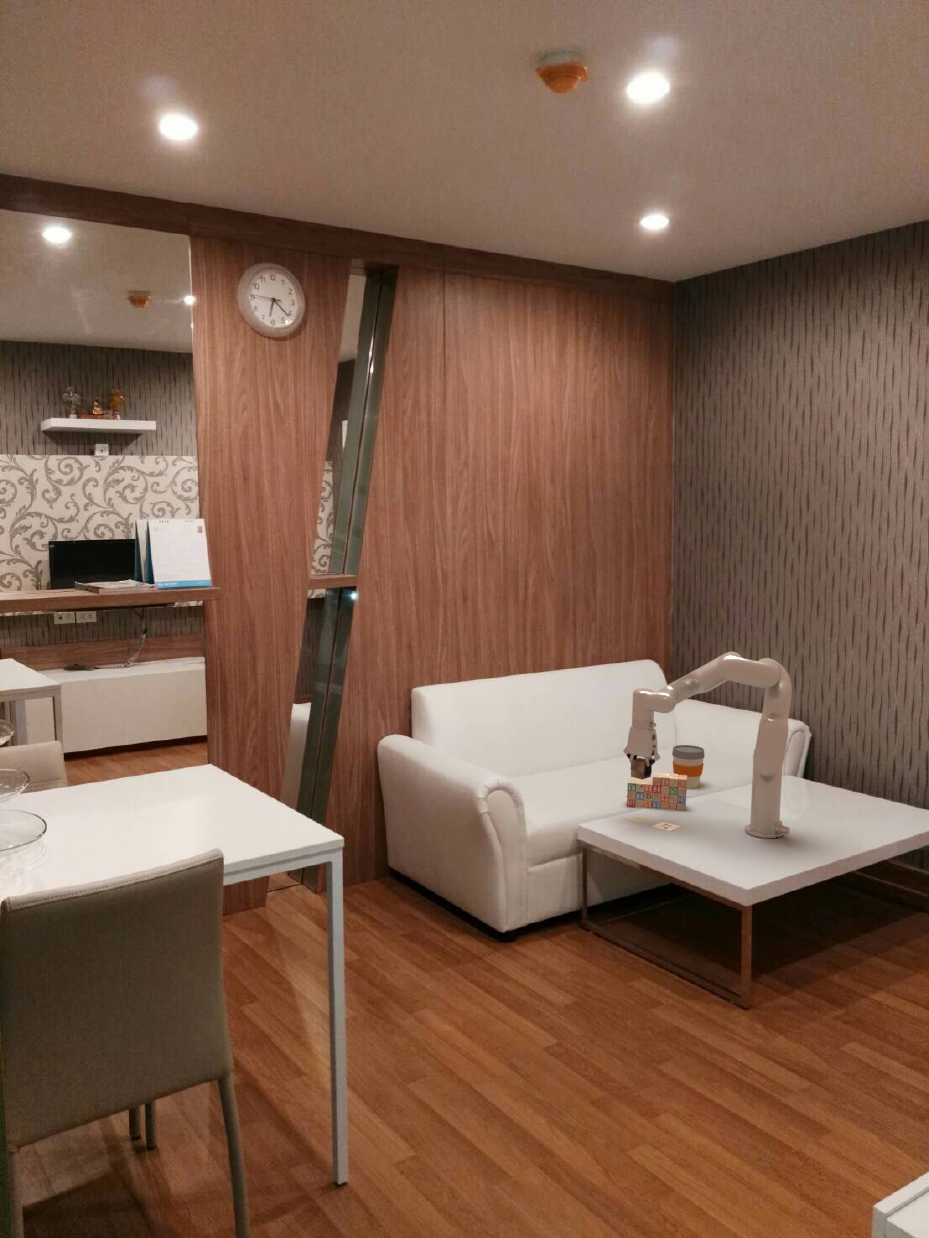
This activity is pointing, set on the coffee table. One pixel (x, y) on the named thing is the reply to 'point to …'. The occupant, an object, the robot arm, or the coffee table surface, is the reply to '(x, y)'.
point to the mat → (661, 825)
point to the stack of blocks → (658, 792)
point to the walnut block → (638, 768)
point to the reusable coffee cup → (688, 763)
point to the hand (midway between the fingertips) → (640, 774)
